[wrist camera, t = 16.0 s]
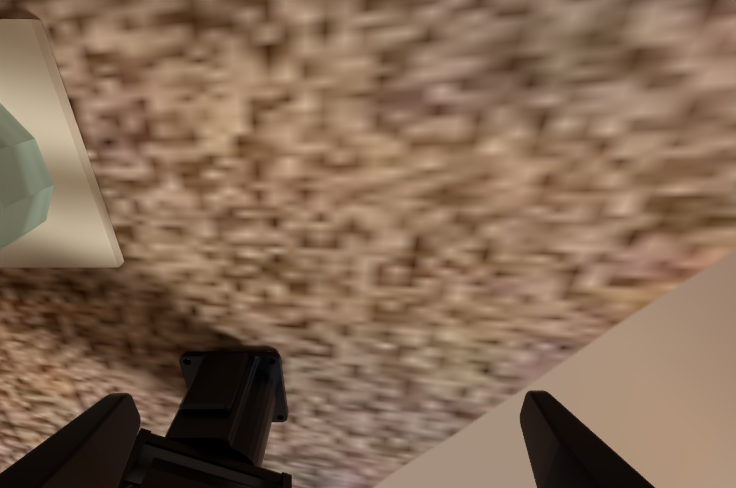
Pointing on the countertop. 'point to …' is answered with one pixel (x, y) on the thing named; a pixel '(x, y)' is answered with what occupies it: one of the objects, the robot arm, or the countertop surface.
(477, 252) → the countertop surface
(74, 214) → the can holder
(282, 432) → the countertop surface
